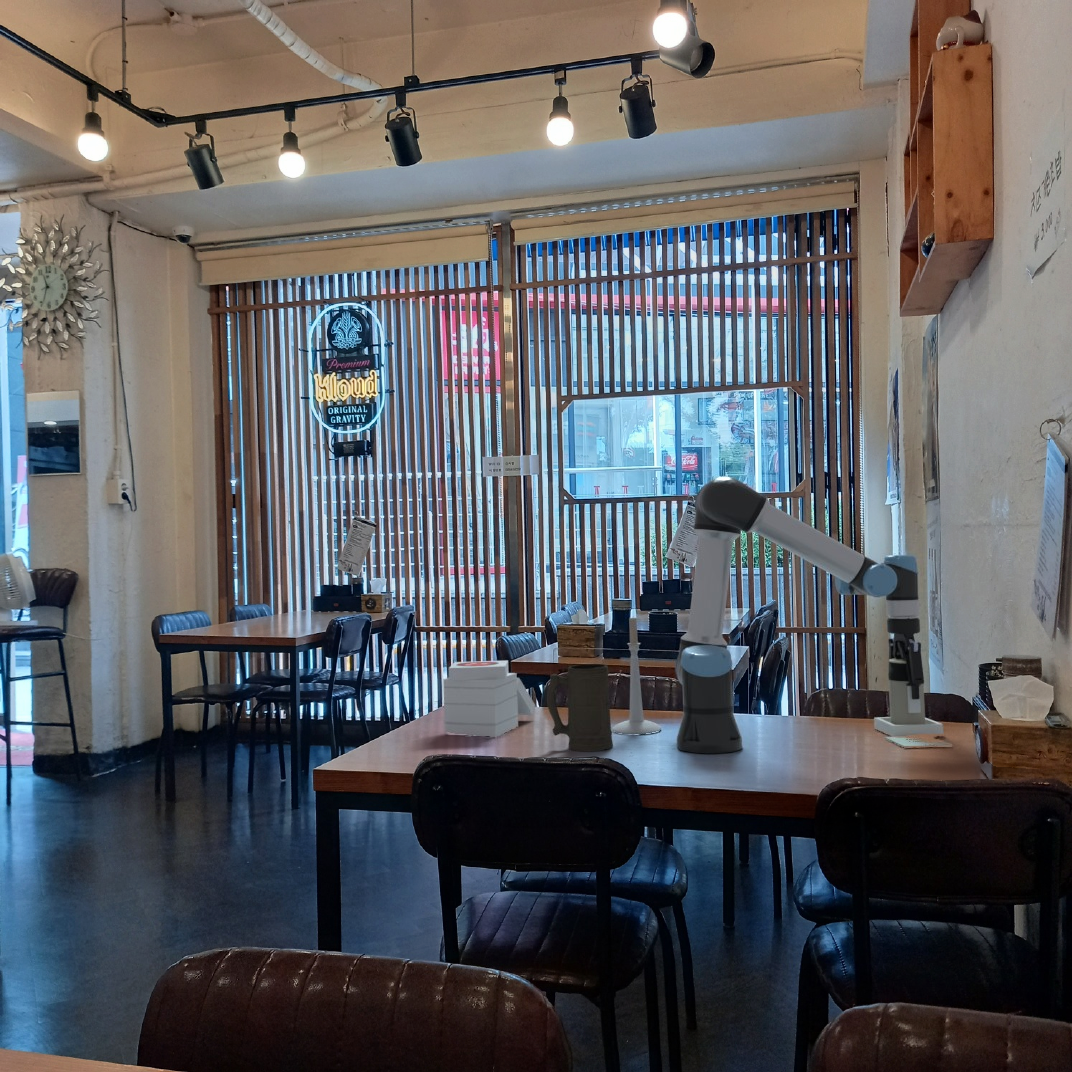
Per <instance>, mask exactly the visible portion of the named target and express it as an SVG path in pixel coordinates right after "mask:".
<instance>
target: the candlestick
mask: <svg viewBox="0 0 1072 1072" xmlns="http://www.w3.org/2000/svg"><path fill="white" fill-rule="evenodd" d="M628 620H629V642H628V643H626V644H627V645H628V647H629V648H628V650H629V651H630V671H629V672H630V674H629V676H630V677H629V678H630V679H629V680H630V681H629V715H628V720H624V721H621V722H619V723H617V724H615V725H614V726H613V727H611V731H612V730H613V731H615V732H617V733H622V734H646V733H652V732H656V731H660V730H661V731H662V727H661V726H660V724H658V723H655V722H653V721H650V720H647V719H645V718H644V712H643V701H642V698H643V697H642V690H641V675H640V666H639V664H640V663H639V657H638V651H640V648H639V647H640V645H641V644H642V643H641V642H639V641H638V618H637V617H629V619H628ZM613 731H612V732H613ZM617 733H616V734H617ZM622 734H621V735H622Z"/></svg>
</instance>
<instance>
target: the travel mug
mask: <svg viewBox="0 0 1072 1072" xmlns="http://www.w3.org/2000/svg"><path fill="white" fill-rule="evenodd" d="M889 662H890V664H891V669H890V671H889V670H888V674H887V675H888V695H889V699H888V700H889V717H890V723H892V724H894V725H912V724H925V718H926V710H925V688H924V687H925V686H924V684H925V683H924V684H921V685H920V706H921V713H909V712H908V691H907V685H906V684H907V683H909V681H908V677H907V672H906V661H904V659H890V660H889V659H888V663H889Z"/></svg>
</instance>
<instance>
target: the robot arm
mask: <svg viewBox="0 0 1072 1072" xmlns="http://www.w3.org/2000/svg"><path fill="white" fill-rule="evenodd" d="M694 510H695V514H694V515H695V516H694V517H695V518H694V525H693V532H694V533H695V534H696V536H698V542H697V543H698V544H697V552H696V560H695V568H694V577H693V586H692V593H691V600H690V601H691V602H690V609H689V611H690V612H689V619H688V626H687V627H688V628H687V631H686V633H684V635H682V636H681V637H680V642H679V651H678V656H677V659H676V662H675V666H674V667H675V668H674V671H675V676H676V678H677V681H678V682H679V684H680V685H681V686H682V687H681V688H682V705H683V707H682V709H683V711H682V712H683V715H682V719H681V723H680V725H679V730H678V733H677V736H676V748H677V749H678V750H680V751H684V752H689V753H693V754H694V753H695V754H724V753H725V754H726V753H732V752H737V751H741V750H742V748H743V739H742V738H743V737H742V734H741V732H740V728H739V727H738V723H737V721H736V719H735V718H736V717H735V715H734V694H733V693H734V691H733V672H732V671H733V670H732V669H733V659H732V656H731V655H732V654H731V652H730V651H729V650H728V642H727V641H726V640H725V638H724V636H723V632H724V626H725V625H724V622H725V615H726V614H725V613H726V608H727V607H726V606H727V598H728V588H729V581H730V573H731V564H732V555H733V547H734V542H735V541H736V540H737V539H738V538H740V536H741V532H744V533H745V534H749V533H755V534H757V535H759V536H761V537H762V538H764V539H766V540H768V541H770V542H772V543H774V544H775V545H777V546H779V547H780V548H782V549H785V550H786V551H788V552H790V553H792V554H793V555H796V556H797V557H799V558H801V559H802V560H804V561H807V562H808V563H810V564H812V565H813V566H816V567H817V568H819V569H821V570H822V571H825V572H827V573H828V574H831V575H832V576H834V585H835V588H836V591H837V593H838V594H839V595H845V596H846V595H847V596H852V595H854V596H856V595H860V596H861V595H862V596H869V597H874V598H881V597H885V605H886V606H885V609H886V613H885V614H886V616H887V617H888V618H887V619H886V628H887V630H886V631H887V633H889V634H892V635H893V638H888V639H887V640H888V641H887V642H888V672H889V671H890V669H891V664H890V662H889V660H890V659H904V661H906V672H907V677H908V681H909V683H907V684H906V685H907V691H908V712H909V713H921V706H920V685H921V684H925V679H924V669H923V659H922V653H921V652H922V643H921V642H916V641H915V634H919V633H921V622H920V621H921V620H920V619H919V617H918V616H919V615H920V607H921V603H919V576H918V575H919V572H918V564H917V563H918V562H917V558H916V556H914V555H913V554H900V555H899V554H897V555H896V554H895V555H894V554H892V555H890V554H889V555H885V557H884V558H883V559H884V560H883V562H881V563H879V562H877V561H875V560H873V559H871V558H869V557H868V556H865V555H863V554H862V553H860V552H858V551H857V550H854V549H853V548H851V547H849V546H847V545H845V544H843V543H842V542H840V541H838V540H836V539H835V538H833V537H831V536H828V535H827V534H826V533H823V532H821V531H820V530H818V529H816V528H814V527H813V526H810V525H809V524H807V523H805V522H803V521H802V520H799V519H798V518H796V517H794V516H792V515H791V514H788V513H787V512H785V511H783V510H782V509H780V508H777V507H776V506H775V505H773V504H771V503H770V500H769V498H768V497H767V496H765V495H763V494H762V493H759V492H758V491H756V490H755V489H753V488H752V487H750V486H748V485H747V484H746V483H744V482H743V481H740V480H739V479H737V478H734V477H731V476H720V477H716V478H713V479H712V480H710V481H709V482H707V483H705V484H704V485H703V486H702V487H701V488H700V489H699V490H698V492H697V494H696V496H695V500H694Z"/></svg>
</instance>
